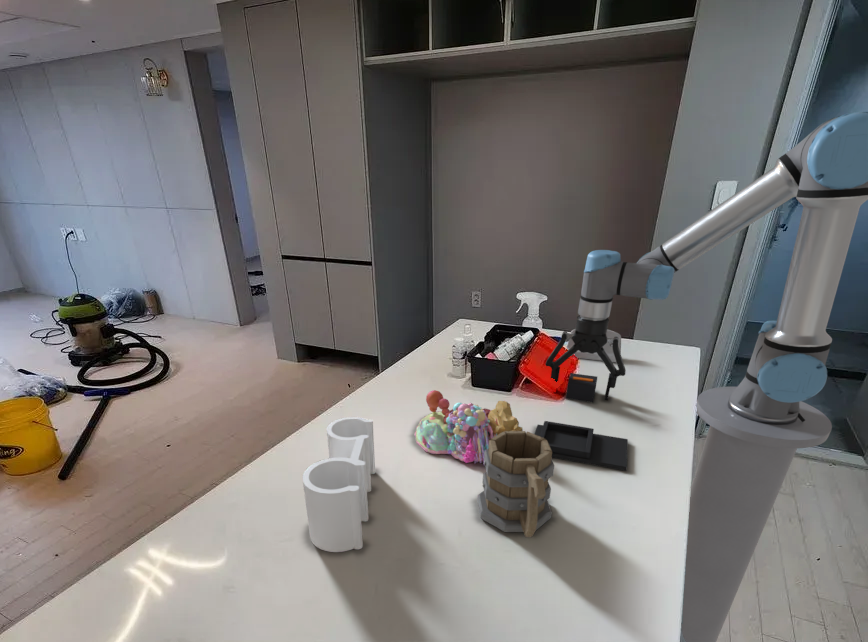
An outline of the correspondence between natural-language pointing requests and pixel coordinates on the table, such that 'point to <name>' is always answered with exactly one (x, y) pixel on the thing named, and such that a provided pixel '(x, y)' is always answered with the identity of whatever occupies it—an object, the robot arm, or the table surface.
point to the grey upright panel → (595, 356)
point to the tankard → (516, 482)
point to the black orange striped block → (581, 387)
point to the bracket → (341, 486)
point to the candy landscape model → (462, 428)
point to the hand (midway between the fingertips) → (580, 394)
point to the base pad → (584, 445)
